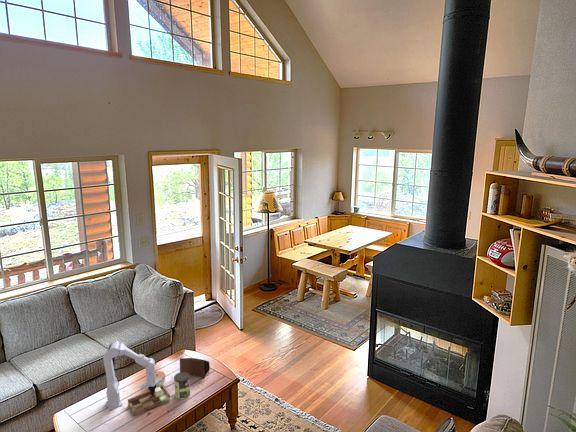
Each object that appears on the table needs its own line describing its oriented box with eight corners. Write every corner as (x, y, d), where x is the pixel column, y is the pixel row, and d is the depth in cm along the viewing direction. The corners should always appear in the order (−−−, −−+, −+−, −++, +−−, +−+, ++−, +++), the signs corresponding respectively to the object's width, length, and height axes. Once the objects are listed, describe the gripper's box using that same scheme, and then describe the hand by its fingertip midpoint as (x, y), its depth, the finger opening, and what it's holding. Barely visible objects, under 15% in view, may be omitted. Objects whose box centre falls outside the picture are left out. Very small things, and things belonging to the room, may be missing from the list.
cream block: (154, 394, 264) (153, 389, 263) (159, 391, 266) (159, 386, 265) (156, 397, 261) (155, 392, 260) (161, 395, 263) (161, 389, 262)
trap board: (128, 405, 256) (127, 399, 255) (163, 391, 271) (163, 385, 270) (134, 415, 247) (133, 409, 246) (170, 400, 262) (169, 394, 261)
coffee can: (192, 390, 272) (192, 372, 268) (186, 400, 262) (185, 382, 259) (179, 388, 274) (178, 370, 270) (172, 398, 264) (171, 380, 261)
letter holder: (204, 378, 285) (203, 361, 282) (179, 374, 289) (178, 357, 286) (210, 370, 295) (209, 353, 292) (186, 366, 299) (185, 350, 296)
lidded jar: (163, 390, 272) (162, 378, 270) (147, 390, 272) (146, 378, 270) (167, 380, 282) (166, 369, 280) (152, 380, 282) (152, 369, 280)
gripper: (142, 384, 252) (143, 402, 255) (163, 375, 260) (165, 393, 263) (138, 378, 257) (140, 396, 260) (160, 370, 266) (161, 387, 269)
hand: (152, 394), depth 262 cm, fingers closed
